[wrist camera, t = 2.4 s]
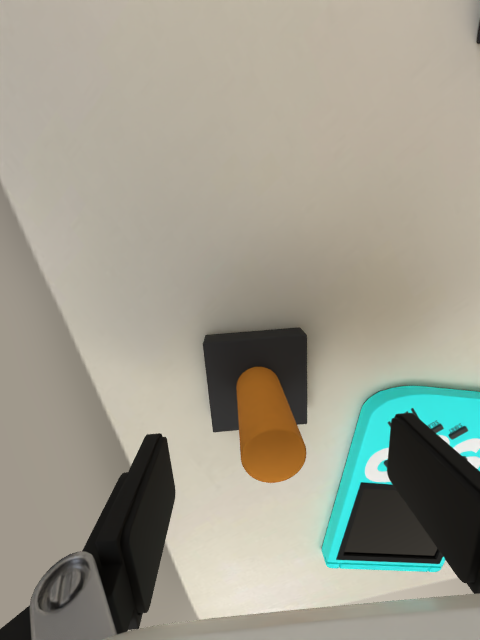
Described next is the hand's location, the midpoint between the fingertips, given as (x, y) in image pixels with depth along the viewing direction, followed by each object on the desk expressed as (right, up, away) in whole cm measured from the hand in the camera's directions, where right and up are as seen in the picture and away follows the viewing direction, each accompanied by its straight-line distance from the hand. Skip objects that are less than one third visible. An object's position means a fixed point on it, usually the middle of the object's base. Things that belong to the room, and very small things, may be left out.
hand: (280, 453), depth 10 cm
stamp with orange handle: (-1, +2, +6) cm, 7 cm away
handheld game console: (+11, -7, +9) cm, 16 cm away
